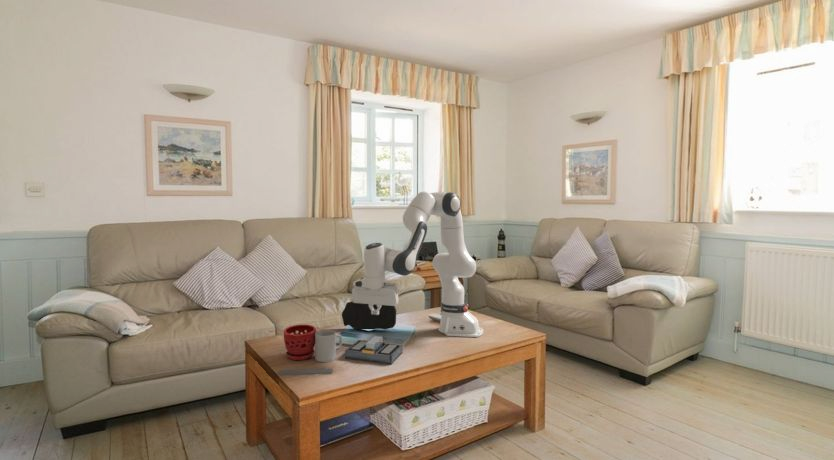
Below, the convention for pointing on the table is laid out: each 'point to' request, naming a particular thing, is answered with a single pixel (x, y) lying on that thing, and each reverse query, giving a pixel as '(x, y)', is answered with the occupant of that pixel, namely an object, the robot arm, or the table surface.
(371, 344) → the grey rectangular block
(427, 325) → the table surface
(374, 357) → the rack
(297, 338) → the plant pot
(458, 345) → the table surface
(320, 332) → the mug
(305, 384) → the table surface
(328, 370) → the half round rod
